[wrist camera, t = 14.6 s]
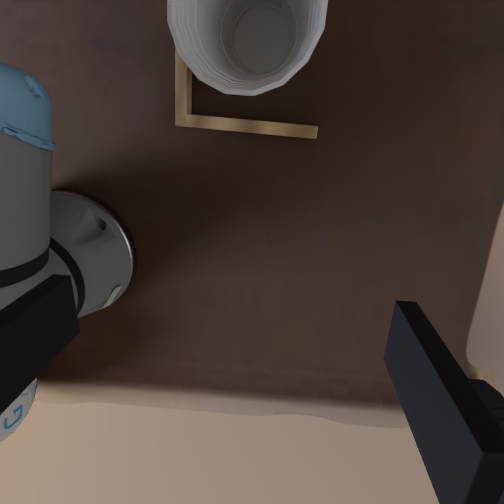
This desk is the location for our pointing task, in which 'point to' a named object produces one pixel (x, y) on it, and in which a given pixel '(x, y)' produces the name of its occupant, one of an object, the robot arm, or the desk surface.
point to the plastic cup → (245, 40)
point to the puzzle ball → (17, 411)
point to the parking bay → (225, 123)
